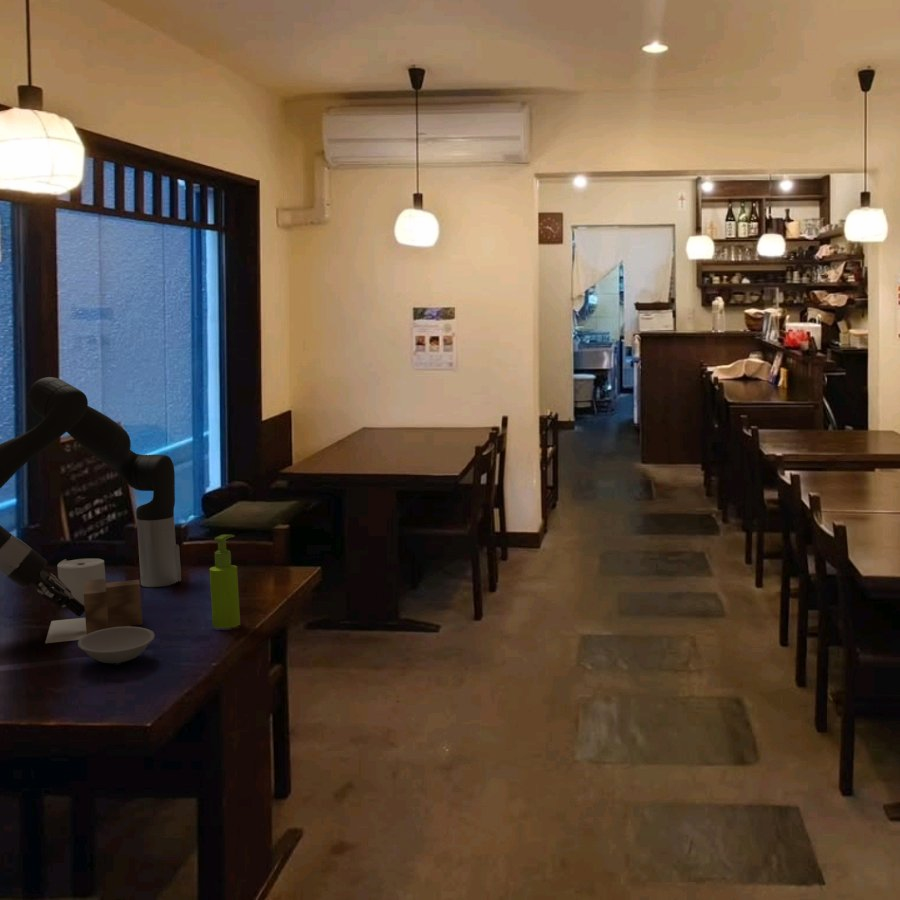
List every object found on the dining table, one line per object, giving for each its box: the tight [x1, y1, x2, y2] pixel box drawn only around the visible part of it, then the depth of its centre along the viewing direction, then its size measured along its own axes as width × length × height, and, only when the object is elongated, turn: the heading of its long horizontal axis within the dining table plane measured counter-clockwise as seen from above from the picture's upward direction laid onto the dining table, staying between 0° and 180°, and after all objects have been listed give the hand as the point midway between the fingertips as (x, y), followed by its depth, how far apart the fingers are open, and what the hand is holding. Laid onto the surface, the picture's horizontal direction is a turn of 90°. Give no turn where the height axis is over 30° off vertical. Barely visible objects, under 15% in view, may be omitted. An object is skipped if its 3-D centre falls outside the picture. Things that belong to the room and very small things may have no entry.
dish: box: [77, 626, 156, 664], centre depth 211 cm, size 18×14×5 cm
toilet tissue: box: [57, 558, 106, 608], centre depth 259 cm, size 11×12×10 cm
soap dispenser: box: [209, 534, 241, 628], centre depth 235 cm, size 6×7×20 cm
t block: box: [84, 578, 143, 634], centre depth 235 cm, size 12×13×9 cm
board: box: [44, 617, 125, 644], centre depth 236 cm, size 30×18×1 cm, turn 106°
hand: (82, 612), depth 233 cm, fingers closed
